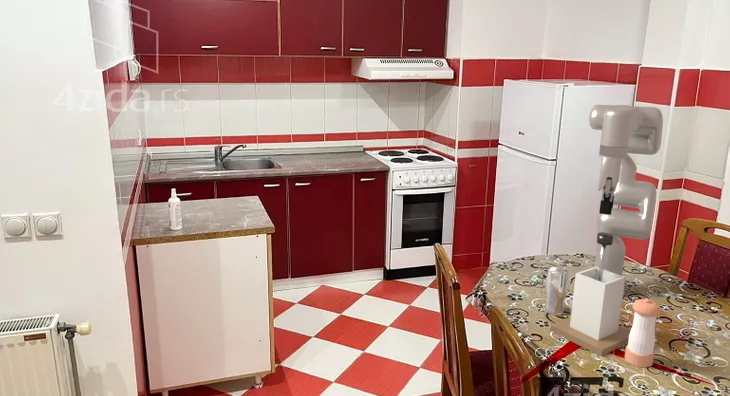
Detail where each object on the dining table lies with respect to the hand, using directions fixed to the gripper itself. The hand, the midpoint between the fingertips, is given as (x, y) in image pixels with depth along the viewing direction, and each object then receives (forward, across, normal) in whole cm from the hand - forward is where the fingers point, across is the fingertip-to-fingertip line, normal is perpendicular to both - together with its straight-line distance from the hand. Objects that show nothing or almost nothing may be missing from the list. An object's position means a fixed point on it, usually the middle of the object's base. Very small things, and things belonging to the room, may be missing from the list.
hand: (606, 210), depth 165 cm
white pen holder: (+40, +3, +1) cm, 40 cm away
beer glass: (+40, -8, -12) cm, 43 cm away
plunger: (+27, +3, +1) cm, 27 cm away
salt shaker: (+40, +12, +14) cm, 44 cm away
